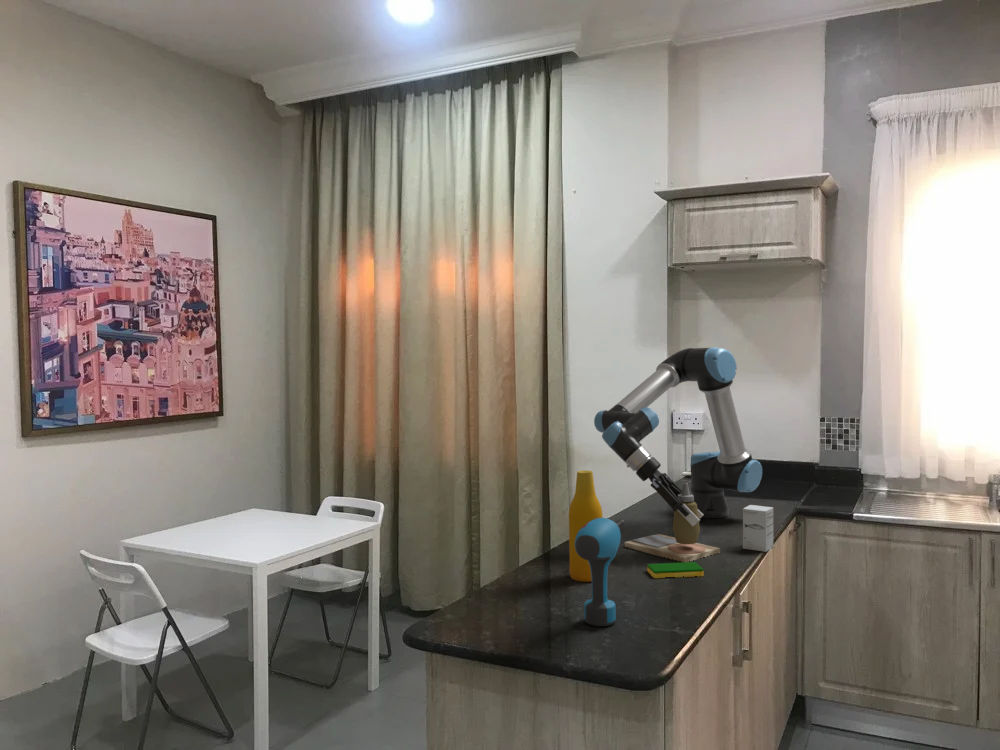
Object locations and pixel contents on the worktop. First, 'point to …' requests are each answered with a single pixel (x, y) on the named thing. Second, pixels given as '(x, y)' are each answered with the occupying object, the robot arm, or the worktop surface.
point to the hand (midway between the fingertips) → (698, 520)
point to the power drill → (599, 566)
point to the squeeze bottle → (680, 525)
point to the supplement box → (758, 528)
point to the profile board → (671, 548)
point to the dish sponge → (675, 570)
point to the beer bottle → (582, 522)
